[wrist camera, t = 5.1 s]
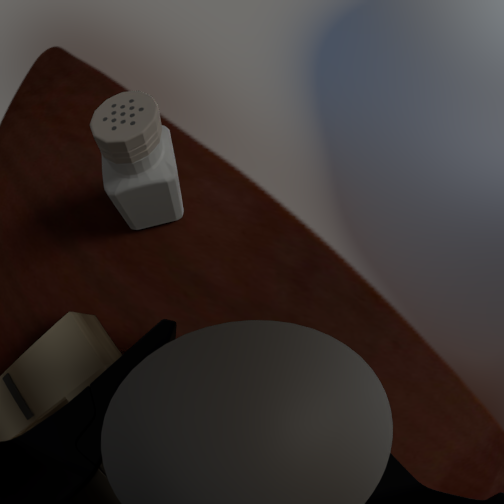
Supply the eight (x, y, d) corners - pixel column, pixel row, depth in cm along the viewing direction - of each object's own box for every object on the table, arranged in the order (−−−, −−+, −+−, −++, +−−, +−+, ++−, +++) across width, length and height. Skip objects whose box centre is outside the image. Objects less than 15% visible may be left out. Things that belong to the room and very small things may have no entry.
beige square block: (104, 532, 11) (92, 558, 7) (-5, 404, 13) (-35, 412, 9) (228, 469, 15) (234, 499, 11) (95, 315, 17) (67, 311, 13)
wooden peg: (214, 408, 14) (241, 582, 2) (168, 355, 14) (48, 430, 2) (268, 365, 15) (428, 441, 3) (222, 312, 15) (277, 253, 3)
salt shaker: (175, 173, 20) (162, 77, 11) (185, 221, 19) (173, 136, 10) (124, 185, 19) (84, 98, 10) (131, 235, 19) (79, 162, 10)
